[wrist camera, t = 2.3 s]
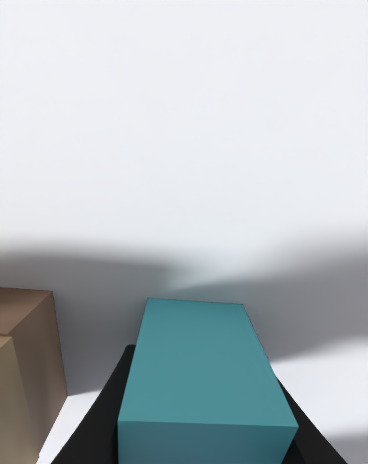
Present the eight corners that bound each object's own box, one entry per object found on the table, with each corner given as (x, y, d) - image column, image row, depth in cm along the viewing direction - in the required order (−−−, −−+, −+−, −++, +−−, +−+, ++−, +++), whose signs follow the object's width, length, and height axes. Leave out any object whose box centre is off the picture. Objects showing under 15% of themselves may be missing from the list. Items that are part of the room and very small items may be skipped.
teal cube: (242, 304, 10) (298, 426, 5) (226, 370, 12) (258, 510, 7) (147, 297, 10) (117, 420, 5) (144, 366, 11) (119, 509, 7)
